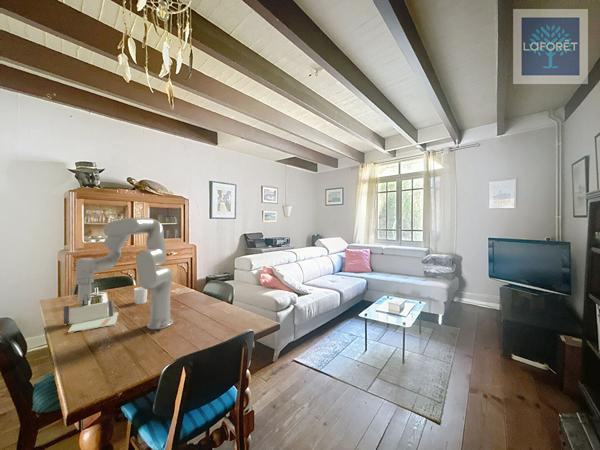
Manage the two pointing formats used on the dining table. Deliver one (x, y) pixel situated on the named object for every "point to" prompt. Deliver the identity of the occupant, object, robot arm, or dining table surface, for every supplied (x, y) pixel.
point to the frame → (92, 320)
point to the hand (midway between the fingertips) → (84, 312)
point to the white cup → (140, 295)
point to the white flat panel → (87, 312)
